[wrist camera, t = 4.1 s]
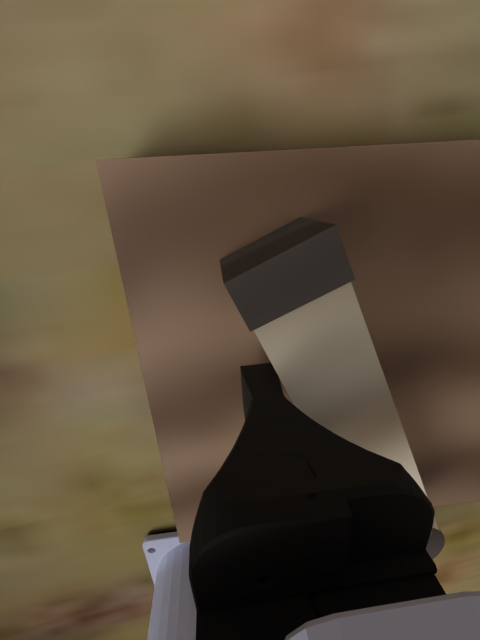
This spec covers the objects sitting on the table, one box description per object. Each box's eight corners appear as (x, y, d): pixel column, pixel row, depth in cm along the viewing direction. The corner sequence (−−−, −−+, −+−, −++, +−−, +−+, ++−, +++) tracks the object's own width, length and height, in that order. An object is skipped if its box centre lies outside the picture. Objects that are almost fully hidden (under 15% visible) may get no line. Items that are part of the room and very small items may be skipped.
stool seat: (504, 458, 20) (589, 533, 16) (183, 500, 19) (175, 596, 14) (629, 139, 13) (854, 107, 8) (118, 167, 11) (59, 147, 7)
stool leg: (408, 493, 17) (451, 557, 14) (356, 515, 17) (387, 582, 14) (300, 217, 10) (336, 224, 7) (219, 260, 11) (223, 283, 8)
